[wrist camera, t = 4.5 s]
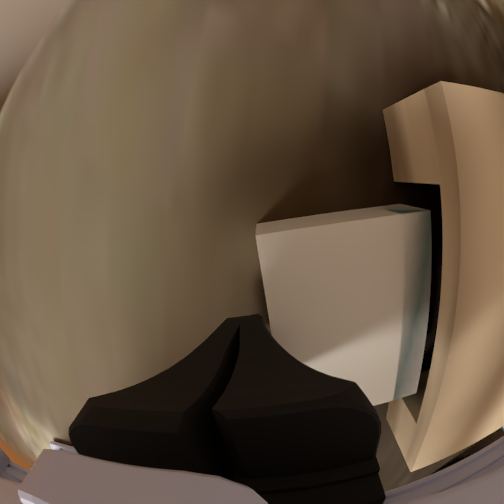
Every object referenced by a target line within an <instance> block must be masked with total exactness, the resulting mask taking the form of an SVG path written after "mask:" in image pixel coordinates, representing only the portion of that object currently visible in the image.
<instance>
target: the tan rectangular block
mask: <svg viewBox="0 0 504 504" xmlns="http://www.w3.org/2000/svg"><path fill="white" fill-rule="evenodd" d="M383 115H384V120H385V125H386V131H387V136H388V142H389V148H390V155H391V162H392V169H393V177H394V182H409V183H425V184H439V185H440V191H441V205H442V233H443V252H442V280H441V294H440V306H439V315H438V324H437V331H436V338H435V345H434V351H433V356H432V362H431V367H430V370H427V371H424V372H421V373H420V378H419V383H418V388H417V392H416V393H415V394H412V395H409V396H406V397H402V398H399V399H396V400H393V401H389V404H388V410H387V416H386V419H387V421H388V423H389V425H390V427H391V430H392V432H393V434H394V436H395V438H396V440H397V443H398V445H399V447H400V449H401V452H402V454H403V456H404V458H405V461H406V463H407V465H408V467H409V470H410V472H412V471H415V470H417V469H420V468H422V467H425V466H427V465H430V464H432V463H434V462H437V461H439V460H441V459H443V458H446V457H448V456H450V455H452V454H454V453H456V452H458V451H460V450H462V449H464V448H466V447H468V446H470V445H472V444H474V443H475V442H477V441H479V440H481V439H483V438H484V437H486V436H488V435H489V434H491V433H493V432H494V431H496V430H498V429H499V428H501V427H502V426H504V94H503V93H500V92H496V91H491V90H487V89H483V88H478V87H473V86H468V85H463V84H457V83H451V82H444V81H440V82H438V83H435V84H433V85H431V86H429V87H427V88H425V89H423V90H421V91H419V92H417V93H415V94H413V95H411V96H409V97H407V98H405V99H403V100H401V101H399V102H397V103H395V104H393V105H391V106H389V107H387V108H385V109H383Z"/></svg>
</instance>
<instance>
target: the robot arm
mask: <svg viewBox="0 0 504 504" xmlns="http://www.w3.org/2000/svg"><path fill="white" fill-rule="evenodd" d="M380 434H381V422H380V420H379V417H378V414H377V412H376V410H375V408H374V407H373V405H372V404H371V402H370V401H369V399H368V398H367V396H366V395H365V394H364V392H363V391H362V390H361V388H360V387H359V386H358V385H357V383H356V382H353V381H349V380H345V379H341V378H337V377H333V376H330V375H327V374H325V373H322V372H320V371H317V370H315V369H313V368H311V367H309V366H307V365H305V364H303V363H302V362H300V361H299V360H297V359H296V358H294V357H293V356H292V355H291V354H289V353H288V352H287V351H286V350H285V349H284V348H283V347H282V346H281V345H280V344H279V343H278V342H277V341H276V340H275V339H274V337H273V336H272V335H271V333H270V332H269V331H268V329H267V328H266V326H265V324H264V322H263V318H262V316H261V315H259V314H257V315H249V316H242V317H234V318H227V319H226V320H225V321H224V322H223V323H222V324H221V325H220V326H219V327H218V328H217V329H216V330H215V331H214V332H213V333H212V334H211V335H210V336H209V337H208V338H207V339H206V340H205V341H204V342H203V343H202V344H201V345H199V346H198V347H197V348H196V349H195V350H194V351H193V352H191V353H190V354H189V355H188V356H186V357H185V358H184V359H182V360H181V361H179V362H178V363H176V364H175V365H173V366H172V367H170V368H169V369H167V370H165V371H163V372H161V373H159V374H158V375H156V376H154V377H152V378H150V379H148V380H146V381H143V382H141V383H139V384H136V385H134V386H131V387H128V388H125V389H122V390H119V391H116V392H112V393H108V394H105V395H101V396H97V397H92V398H89V399H88V400H87V402H86V403H85V405H84V406H83V408H82V409H81V411H80V412H79V414H78V415H77V417H76V418H75V420H74V421H73V422H72V424H71V425H70V427H69V437H70V440H71V443H72V445H73V446H69V445H65V444H62V443H58V442H55V441H51V442H50V446H51V447H52V449H53V450H52V449H43V451H42V452H41V454H40V455H39V457H38V458H37V460H36V461H35V463H34V465H33V466H32V468H31V469H30V470H28V469H25V468H24V467H21V466H19V465H18V464H16V463H14V462H12V461H10V459H9V457H8V456H7V455H6V454H5V453H4V451H3V450H2V449H1V448H0V504H504V436H503V437H501V438H500V439H498V440H496V441H495V442H493V443H492V444H490V445H488V446H487V447H485V448H483V449H481V450H480V451H478V452H476V453H474V454H473V455H471V456H469V457H467V458H465V459H463V460H461V461H459V462H457V463H455V464H453V465H451V466H449V467H447V468H445V469H443V470H441V471H438V472H436V473H434V474H432V475H429V476H427V477H424V478H422V479H420V480H417V481H414V482H412V483H409V484H406V485H404V486H401V487H398V488H395V489H392V490H389V491H386V492H384V490H383V486H382V483H381V481H380V478H379V475H378V473H379V470H380V468H379V464H378V461H377V458H376V453H377V448H378V444H379V439H380Z"/></svg>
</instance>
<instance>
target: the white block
mask: <svg viewBox="0 0 504 504" xmlns="http://www.w3.org/2000/svg"><path fill="white" fill-rule="evenodd" d="M255 236H256V242H257V248H258V254H259V260H260V266H261V272H262V279H263V285H264V291H265V297H266V303H267V310H268V316H269V322H270V328H271V335H272V336H273V337H274V339H275V340H276V341H277V342H278V343H279V344H280V345H281V346H282V347H283V348H284V349H285V350H286V351H287V352H288V353H289V354H291V355H292V356H293V357H294V358H296V359H297V360H299V361H300V362H302V363H303V364H305V365H307V366H309V367H311V368H313V369H315V370H317V371H320V372H322V373H325V374H327V375H330V376H333V377H337V378H341V379H345V380H349V381H353V382H356V383H357V385H358V386H359V387H360V388H361V390H362V391H363V392H364V394H365V395H366V396H367V398H368V399H369V401H370V402H371V404H372V405H373V406H375V405H379V404H382V403H386V402H389V401H393V400H396V399H399V398H402V397H406V396H409V395H412V394H415V393H416V392H417V388H418V383H419V378H420V372H421V367H422V361H423V355H424V348H425V341H426V334H427V325H428V315H429V304H430V289H431V263H432V237H431V211H430V210H426V209H422V208H417V207H413V206H408V205H404V204H394V205H386V206H378V207H370V208H362V209H355V210H347V211H340V212H332V213H325V214H318V215H311V216H304V217H297V218H291V219H284V220H277V221H271V222H264V223H258V224H256V235H255Z"/></svg>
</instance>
